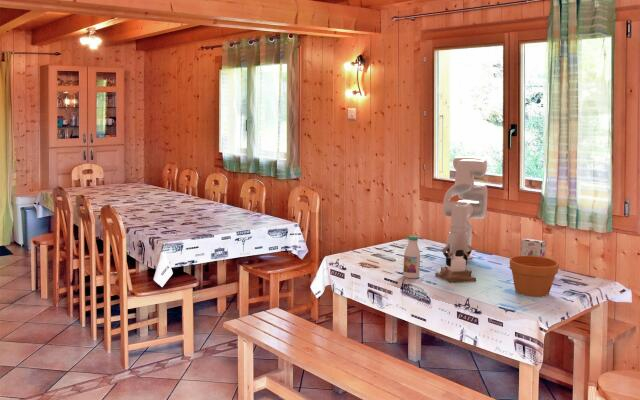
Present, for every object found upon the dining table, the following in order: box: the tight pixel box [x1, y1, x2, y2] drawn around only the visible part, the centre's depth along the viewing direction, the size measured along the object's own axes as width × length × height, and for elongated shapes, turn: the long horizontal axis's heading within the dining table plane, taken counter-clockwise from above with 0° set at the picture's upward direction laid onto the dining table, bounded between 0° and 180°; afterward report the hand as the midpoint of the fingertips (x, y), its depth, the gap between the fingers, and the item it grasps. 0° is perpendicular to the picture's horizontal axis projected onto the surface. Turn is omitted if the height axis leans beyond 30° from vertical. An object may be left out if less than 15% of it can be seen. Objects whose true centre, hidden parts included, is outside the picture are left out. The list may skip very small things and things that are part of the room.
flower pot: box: [509, 255, 560, 298], centre depth 289 cm, size 21×21×15 cm
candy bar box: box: [520, 237, 547, 258], centre depth 329 cm, size 11×5×16 cm, turn 47°
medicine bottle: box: [446, 250, 467, 272], centre depth 310 cm, size 7×7×12 cm
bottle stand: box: [434, 266, 477, 284], centre depth 311 cm, size 14×14×4 cm
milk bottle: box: [402, 235, 421, 279], centre depth 310 cm, size 8×8×20 cm
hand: (456, 265), depth 311 cm, fingers closed on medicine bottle, 8 cm apart
